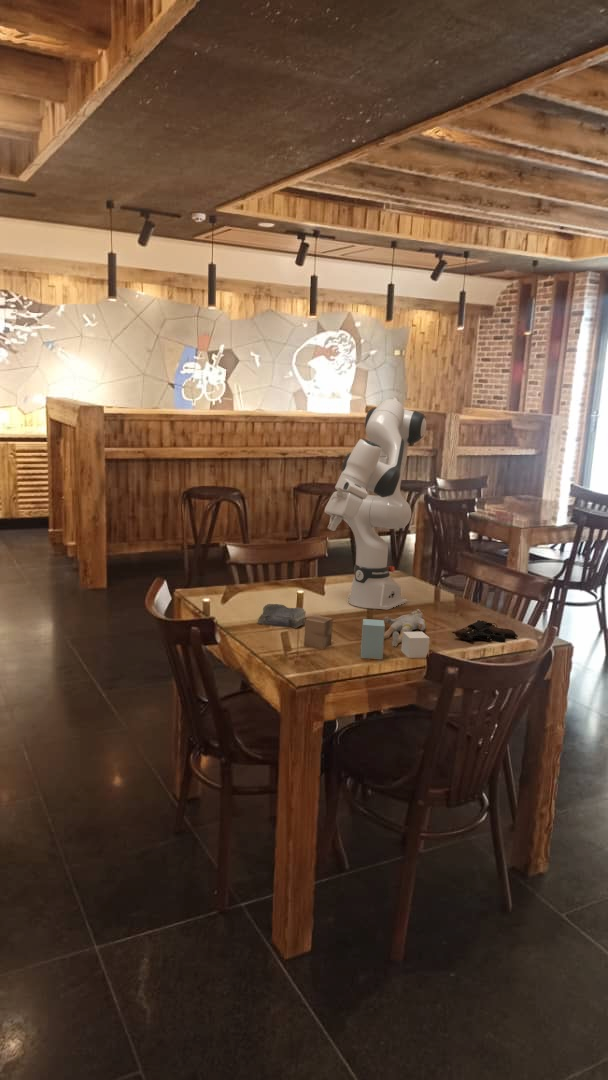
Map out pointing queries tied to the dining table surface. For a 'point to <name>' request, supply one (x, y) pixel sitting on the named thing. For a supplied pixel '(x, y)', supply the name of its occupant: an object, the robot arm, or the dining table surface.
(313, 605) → the dining table surface
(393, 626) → the figurine
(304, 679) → the dining table surface
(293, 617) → the fossil
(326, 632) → the walnut block
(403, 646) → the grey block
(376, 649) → the teal block
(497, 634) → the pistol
